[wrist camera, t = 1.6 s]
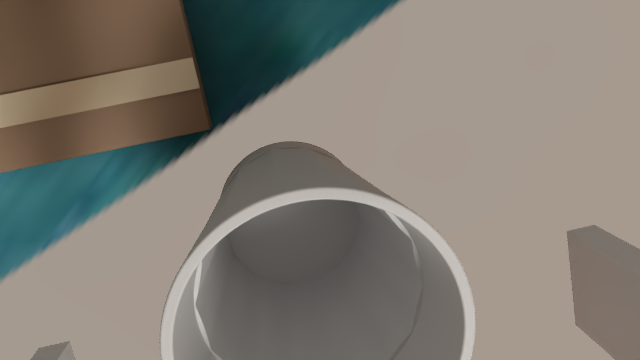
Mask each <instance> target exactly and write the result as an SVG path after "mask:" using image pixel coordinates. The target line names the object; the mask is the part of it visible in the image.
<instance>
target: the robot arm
mask: <svg viewBox="0 0 640 360" xmlns="http://www.w3.org/2000/svg"><path fill="white" fill-rule="evenodd" d="M567 238H568V249H569V259H570V270H571V280H572V291H573V302H574V313H575V323H576V325H577V326H578V327H579V328H580V329H581V330H582V331H584V332H585V333H586V334H587V335H588V336H589V337H590V338H591V339H593V340H594V341H595V342H596V343H597V344H599V345H600V346H601V347H602V348H603V349H604V350H605V351H606V352H607V353H608V354H610V355H611V356H612V357H613V358H614V359H615V360H640V249H638V248H636V247H634V246H633V245H631V244H629V243H627V242H625V241H623V240H621V239H619V238H617V237H616V236H614V235H612V234H610V233H608V232H606V231H605V230H603V229H601V228H599V227H597V226H595V225H592V226H588V227H583V228H579V229H575V230H570V231H567ZM31 360H75V357H74V354H73V351H72V348H71V345H70V342H64V343H60V344H55V345H51V346H46V347H42V348H39V349H38V350H37V351H36V353H35V354H34V356H33V357H32V358H31Z"/></svg>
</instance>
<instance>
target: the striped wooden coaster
mask: <svg viewBox="0 0 640 360" xmlns="http://www.w3.org/2000/svg"><path fill="white" fill-rule="evenodd" d="M211 126H212V122H211V117H210V113H209V109H208V105H207V101H206V96H205V92H204V88H203V84H202V80H201V75H200V71H199V67H198V63H197V59H196V54H195V50H194V46H193V42H192V38H191V33H190V29H189V25H188V21H187V17H186V12H185V8H184V4H183V0H0V173H2V172H7V171H12V170H17V169H21V168H26V167H31V166H36V165H41V164H46V163H51V162H55V161H60V160H65V159H70V158H75V157H80V156H84V155H89V154H94V153H99V152H104V151H109V150H114V149H118V148H123V147H128V146H133V145H138V144H143V143H147V142H152V141H157V140H162V139H167V138H172V137H177V136H181V135H186V134H191V133H196V132H201V131H206V130H210V128H211Z"/></svg>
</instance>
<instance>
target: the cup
mask: <svg viewBox="0 0 640 360" xmlns="http://www.w3.org/2000/svg"><path fill="white" fill-rule="evenodd" d="M475 323H476V319H475V307H474V300H473V295H472V292H471V287H470V284H469V281H468V278H467V276H466V273H465V271H464V268H463V266H462V264H461V262H460V261H459V259H458V257H457V255H456V254H455V252H454V251H453V249H452V248H451V246H450V245H449V243H448V242H447V241H446V240H445V238H444V237H443V236H442V235H441V234H440V233H439V232H438V231H437V230H436V229H435V228H434V227H433V226H432V225H431V224H430V223H429V222H427V221H426V220H425V219H424V218H422V217H421V216H420V215H418V214H417V213H416V212H414V211H412V210H411V209H409V208H408V207H406V206H405V205H403V204H401V203H400V202H398V201H397V200H395V199H393V198H392V197H390V196H389V195H387V194H385V193H384V192H382V191H381V190H379V189H378V188H376V187H375V186H373V185H372V184H371V183H369V182H368V181H366V180H365V179H363V178H362V177H360V176H359V175H357V174H356V173H354V172H353V171H351V170H350V169H349V168H347V167H346V166H344V165H343V164H342V163H341V161H340V160H338V159H337V158H336V157H335V156H334V155H332V154H331V153H329V152H328V151H326V150H324V149H322V148H320V147H317V146H314V145H312V144H308V143H302V142H279V143H274V144H271V145H267V146H265V147H262V148H260V149H258V150H256V151H254V152H253V153H251V154H249V155H248V156H247V157H245V158H244V159H243V160H242V161H241V162H240V163H239V164H238V165H237V166H236V167H235V168H234V170H233V171H232V172H231V174H230V176H229V177H228V179H227V181H226V183H225V185H224V188H223V191H222V194H221V197H220V199H219V201H218V203H217V205H216V207H215V209H214V211H213V212H212V214H211V216H210V218H209V220H208V222H207V224H206V226H205V228H204V229H203V231H202V233H201V234H200V236H199V237H198V239H197V241H196V243H195V244H194V246H193V248H192V250H191V251H190V253H189V254H188V256H187V258H186V259H185V261H184V263H183V265H182V266H181V268H180V269H179V271H178V273H177V275H176V277H175V279H174V281H173V283H172V285H171V288H170V291H169V293H168V296H167V299H166V302H165V306H164V310H163V315H162V320H161V328H160V355H161V360H471V357H472V352H473V347H474V340H475Z"/></svg>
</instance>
